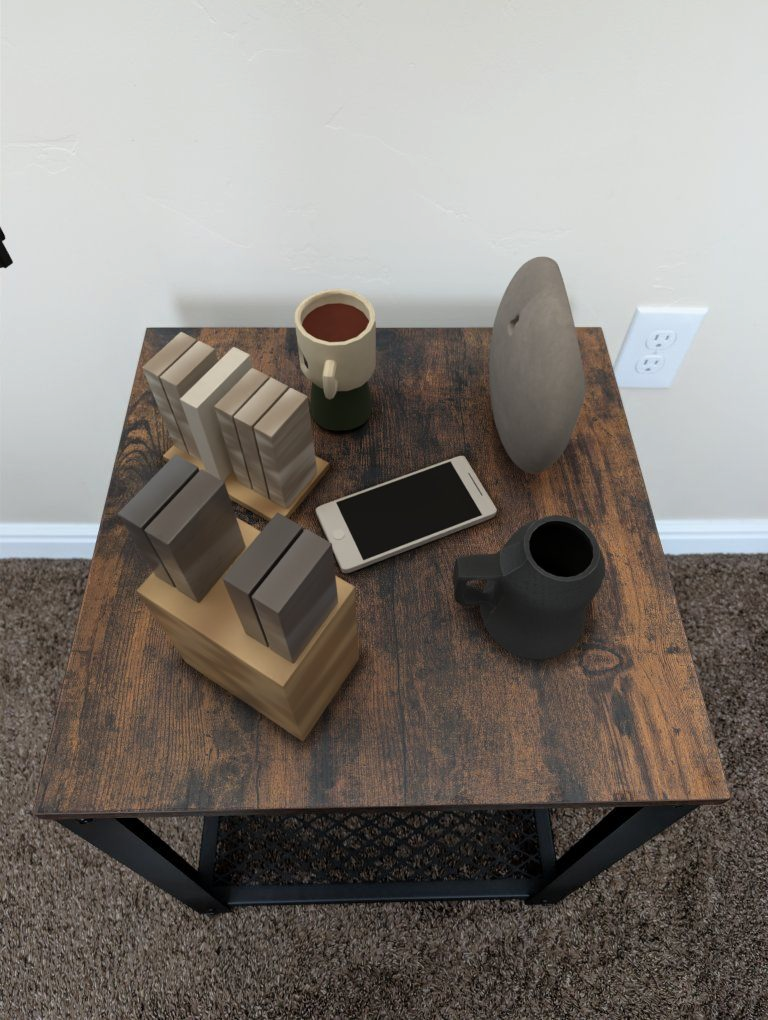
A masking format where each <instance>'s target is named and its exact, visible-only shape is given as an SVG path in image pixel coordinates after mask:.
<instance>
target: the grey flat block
mask: <svg viewBox="0 0 768 1020" xmlns="http://www.w3.org/2000/svg"><path fill="white" fill-rule="evenodd" d="M251 368H253V362H252V358H251V354H249V353H247V352H245V351H243V350H242V349H239V348H237V347H235V346H233V347H231V348H230V350H228V351H227V352H226V354H224V355H223V357H221V358H220V359H218V362H217V363H216V364H215V365H214V366H213V367H212V368H211V369H210V370H209V371H208V372H207V373H206V374H205V375H204V376H203V377H202V378H201V379H200V380H199V381H198V382H197V383H196V384H195V385H194V386H193V387H192V388H191V389H190V390H189V391H188V392H187V393H186V394H185V395H184V396H183V397H182V398H181V399H180V401H181V404H182V407H183V409H184V412H185V415H186V418H187V420H188V423H189V426H190V429H191V431H192V434H193V437H194V440H195V442H196V445H197V448H198V451H199V453H200V456H201V459H202V462H203V464H204V467H205V470H206V472H208V473H210V474H211V475H213V476H215V477H216V478H218V479H220V480H222V481H223V482H224V481H225V480H226V478H227V477H228V476H229V475H230V474H231V473H232V472H233V471H234V470H233V466H232V463H231V460H230V457H229V453H228V450H227V447H226V443H225V440H224V437H223V434H222V430H221V427H220V424H219V420H218V417H217V414H216V411H215V407H214V406H215V405H216V404H217V403H218V402H219V401H220V400H221V399H222V398H223V397H224V396H225V395H226V394H227V393H228V392H229V391H230V390H231V389H232V388H233V387H234V386H235V385H236V384H237V383H238V382H239V381H240V380H241V378H242V377H243V376H244V375H245V374H246V373H247V372H248V371H249V370H250V369H251ZM253 369H254V368H253Z"/></svg>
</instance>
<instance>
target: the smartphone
mask: <svg viewBox="0 0 768 1020" xmlns="http://www.w3.org/2000/svg"><path fill="white" fill-rule="evenodd" d="M497 511H498V509H497V508H496V505H495V504H494V502H493V501H492V499H491V497H490V495H489V494H488V492H487V491H486V489H485V487H484V486H483V484H482V483H481V481H480V479H479V478H478V476H477V474H476V472H475V471H474V469H473V468H472V466H471V465H470V463H469V461H468V460H467V458H466V456H464V455H457V456H455V457H452V458H449V459H446V460H444V461H441V462H438V463H435V464H433V465H430V466H427V467H425V468H422V469H419V470H416V471H413V472H410V473H408V474H405V475H402V476H399V477H396V478H393V479H390V480H388V481H385V482H383V483H380V484H376V485H374V486H370V487H369V488H366V489H362V490H361V491H360V490H359V491H357V492H355V493H352V494H349V495H345V496H343V497H341V498H337V499H335V500H332V501H329V502H327V503H324V504H321V505H319V506H318V507H316V508H315V514H316V517H317V519H318V521H319V523H320V526H321V528H322V531H323V533H324V536H325V537H326V540H327V541H329V542H330V543H332V550H333V556H334V557H335V559H336V562H337V564H338V566H339V568H340V570H341V573H343V574H351V573H353V572H355V571H358V570H360V569H363V568H366V567H368V566H371V565H373V564H376V563H378V562H381V561H384V560H386V559H389V558H392V557H394V556H397V555H400V554H402V553H404V552H407V551H410V550H412V549H415V548H417V547H420V546H423V545H426V544H428V543H430V542H431V543H432V542H433V541H436V540H438V539H442V538H444V537H447V536H449V535H451V534H454V533H456V532H459V531H463V530H465V529H468V528H470V527H473V526H476V525H478V524H480V523H483V522H486V521H489V520H490V519H493V518H494V517H496V515H497Z"/></svg>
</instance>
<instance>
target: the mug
mask: <svg viewBox="0 0 768 1020" xmlns="http://www.w3.org/2000/svg"><path fill="white" fill-rule="evenodd" d="M605 560H606V559H605V557H604V555H603V551H602V549H601V547H600V545H599V542H598V540H597V537H596V535H595V534H594V533H593V531H592V530H591V529H590V528H589V527H588V526H587V525H586V524H585V523H583V522H582V521H580V520H578V519H577V518H573V517H571V516H568V515H561V514H553V515H546V516H543V517H541V518H539V519H534V520H531V521H529V522H527V523H525V524H523V525H521V526H520V527H519V528H518V529H517V530H516V531H515V532H514V533H513V534H512V535H511V536H510V538H509V539H508V540H507V541H506V542H505V544H504V545H503V546H502V547H501V548H500V549H499V550H498V551H497V552H495V553H476V554H475V553H474V554H468V555H461V556H459V557H456V558H455V561H454V565H453V572H452V585H453V599H454V601H455V603H457V604H458V605H460V607H464V608H469V607H476V606H480V607H479V608H480V609H479V611H480V615H481V618H482V621H483V625H484V627H485V628H486V630H487V631H488V633H489V635H490V636H491V638H492V639H493V640H494V641H495V642H496V643H497V644H499V645H500V646H501V647H502V648H503V649H504V650H506V651H508V652H510V653H512V654H513V655H516V656H519V657H521V658H524V659H525V658H526V659H532V660H533V659H534V660H540V661H541V660H546V659H551V658H556V657H559V656H560V655H562V654H563V653H566V652H568V651H570V650H571V649H572V648H573V647H574V645H575V644H576V643H577V642H578V641H579V639H581V636H582V633H583V630H584V628H585V624H586V619H587V618H586V617H587V607H588V606H589V604H591V602H592V601H593V599H594V598H595V596H596V595H597V593H598V592H599V590H600V589H601V587H602V584H603V582H604V578H605V575H606V561H605ZM471 581H486V583H485V586H484V588H483V590H482V591H481V590H479V589H478V588H477V587H474V586H472V585H468V582H471Z"/></svg>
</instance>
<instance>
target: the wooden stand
mask: <svg viewBox="0 0 768 1020" xmlns="http://www.w3.org/2000/svg"><path fill="white" fill-rule="evenodd" d="M117 515H118V517H119V518H120V519H121V521H122V523H123V524H124V526H125V528H126V530H127V531H128V533H129V535H130V536H131V538H132V540H133V541H134V543H135V544H136V546H137V548H138V550H139V551H140V554H141V555H142V556H143V557H144V560H145V561H146V563H147V564H148V566H149V568H150V569H151V571H152V572H151V573H150V575H149V576H148V577H147V578H146V579H145V580H144V581H143V583H142V584H141V585H140V586H139V587H138V588H137V589H136V593H137V594H138V595H139V597H140V598H141V599H142V601H143V603H144V604H145V605H146V607H147V609H148V610H149V612H150V613H151V614H152V616H153V617H154V619H155V620H156V622H157V623H158V624H159V626H160V627H161V629H162V630H163V632H164V633H165V635H166V636H167V637H168V639H169V640H170V642H171V644H172V645H173V646H174V648H175V649H176V651H177V652H178V654H179V655H180V656H181V658H182V659H183V660H184V662H185V663H186V664H187V665H189V666H190V667H192V668H193V669H195V670H196V671H197V672H199V673H200V674H202V675H203V676H205V677H206V678H208V679H210V680H211V682H214V683H215V684H217V685H218V686H220V687H221V688H223V689H224V690H225V691H227V692H229V693H230V694H232V695H233V696H235V697H236V698H238V699H239V700H241V701H242V702H243V703H245V704H247V705H248V706H250V707H251V708H252V709H254V710H255V711H256V712H258V713H260V714H261V715H262V716H264V717H266V718H267V719H269V720H270V721H272V722H273V723H274V724H276V725H278V726H279V727H281V728H282V729H284V730H285V731H286V732H288V733H289V734H291V735H292V736H294V737H295V738H297V739H298V740H299V741H301V742H304V741H305V740H306V739H307V737H308V735H309V734H310V732H311V731H312V730H313V728H314V726H315V725H316V724H317V722H318V720H319V719H320V717H321V716H322V714H324V712H325V710H326V709H327V707H328V706H329V705H330V703H331V702H332V700H333V698H334V697H335V696H336V695H337V692H338V691H339V690H340V688H341V687H342V685H343V684H344V682H345V681H346V679H347V678H348V676H349V674H350V673H351V672H352V670H353V669H354V668H355V666H356V665H357V663H358V661H359V660H360V653H359V652H360V651H359V635H358V634H359V633H358V618H357V603H356V602H357V600H356V586H355V585H352V584H351V583H349V582H347V581H345V580H344V579H343V578H341V577H338V576H337V575H336V567H335V560H334V553H333V550H332V543H330V542H329V541H328V539H325V538H324V537H321V536H320V535H319V534H316V533H315V532H313V531H312V530H309V529H308V528H305V529H304V527H303V526H302V525H301V524H299V523H297V522H296V521H294V520H292V519H291V518H289V519H288V518H287V517H285V516H283V515H282V514H280V513H278V512H277V513H276V514H275V516H274V517H273V518H272V519H271V520H270V522H269V521H268V523H267V524H266V525H265V526H264V527H263V529H261V531H260V530H259V529H257V528H256V527H254V526H252V525H250V524H248V523H247V522H245V521H244V520H241V519H240V518H239V517H237V515H236V513H235V510H234V507H233V502H232V500H231V499H230V497H229V494H228V491H227V488H226V485H225V482H223V481H222V480H220V479H218V478H216V477H215V476H213V475H211V474H210V473H208V472H206V471H204V470H203V469H201V470H200V471H199V468H198V467H197V466H196V465H194V464H192V463H190V462H189V461H187V460H185V459H183V458H182V457H180V456H178V455H176V454H175V455H174V456H173V457H172V458H171V459H170V460H169V461H168V462H165V464H164V465H163V466H162V467H161V468H160V469H159V470H158V471H157V472H156V473H155V474H154V476H153V477H152V478H150V480H148V482H147V483H145V485H144V486H143V487H142V488H141V489H140V490H139V491H138V492H137V493H136V494H135V495H134V496H133V497H132V498H131V499H130V500H129V501H128V502H127V503H126V504H125V505H124V506H123V507H122V508H121V509H120V510H119V512H118V513H117Z"/></svg>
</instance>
